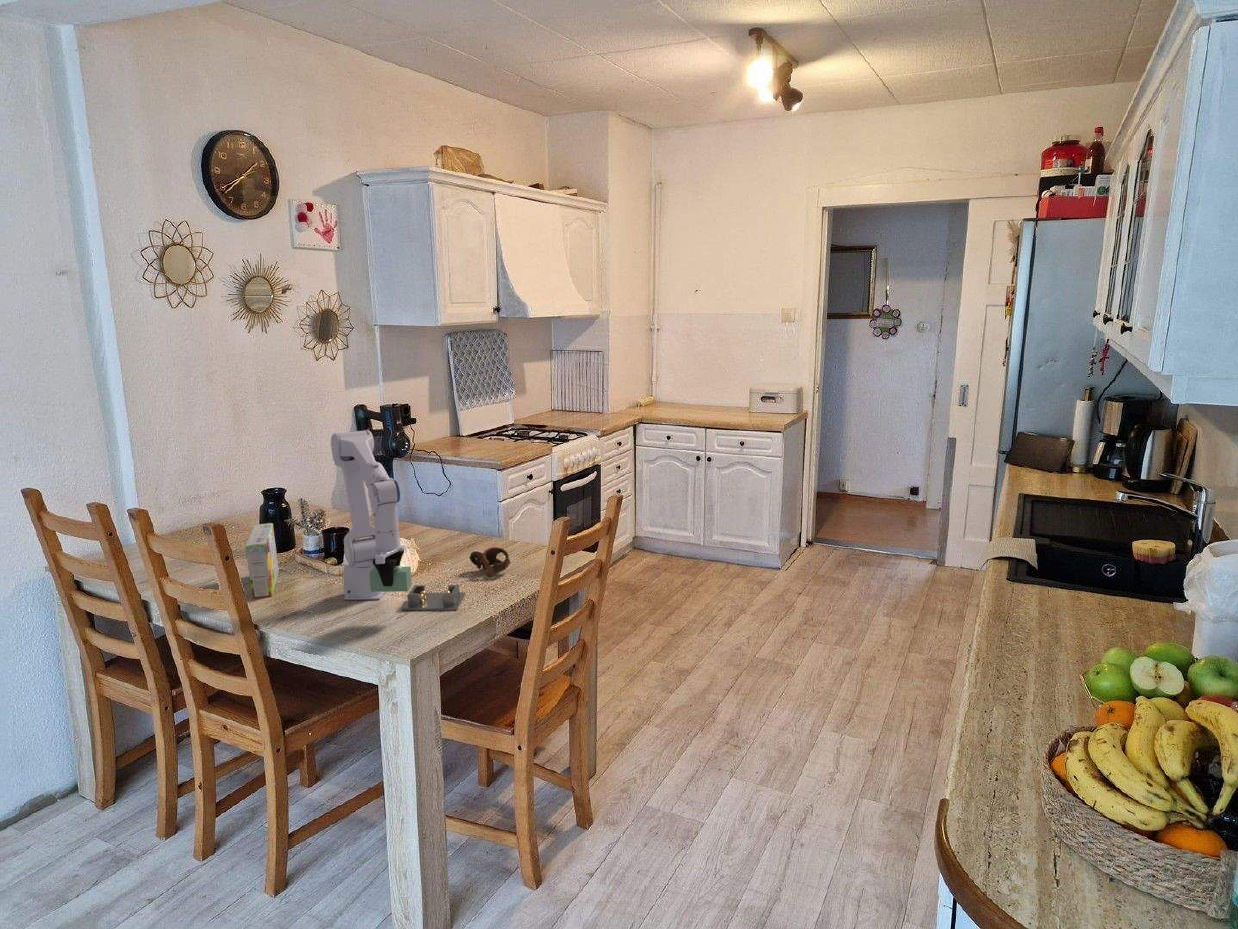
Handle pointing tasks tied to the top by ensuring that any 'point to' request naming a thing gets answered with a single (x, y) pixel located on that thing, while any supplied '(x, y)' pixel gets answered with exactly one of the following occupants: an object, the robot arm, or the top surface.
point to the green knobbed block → (399, 581)
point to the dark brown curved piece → (490, 560)
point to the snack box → (262, 560)
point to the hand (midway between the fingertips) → (390, 582)
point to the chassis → (433, 599)
